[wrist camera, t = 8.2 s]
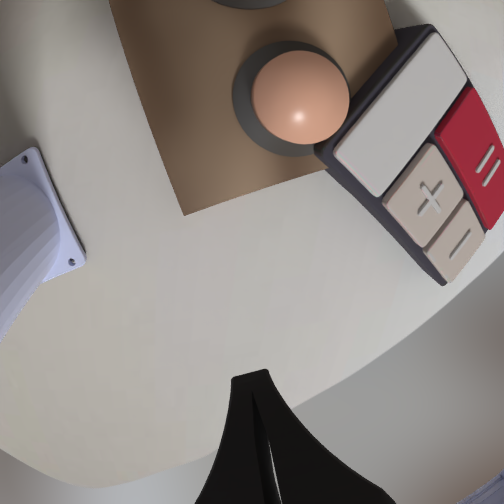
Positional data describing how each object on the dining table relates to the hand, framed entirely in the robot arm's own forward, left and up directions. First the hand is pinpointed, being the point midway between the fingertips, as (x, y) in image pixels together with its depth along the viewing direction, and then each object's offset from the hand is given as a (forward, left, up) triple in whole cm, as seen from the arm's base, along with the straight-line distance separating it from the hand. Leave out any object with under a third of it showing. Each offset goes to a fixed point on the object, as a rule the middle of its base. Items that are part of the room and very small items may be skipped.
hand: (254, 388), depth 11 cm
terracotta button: (+6, +9, -7) cm, 13 cm away
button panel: (+6, +17, -9) cm, 20 cm away
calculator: (+15, +3, -10) cm, 18 cm away
